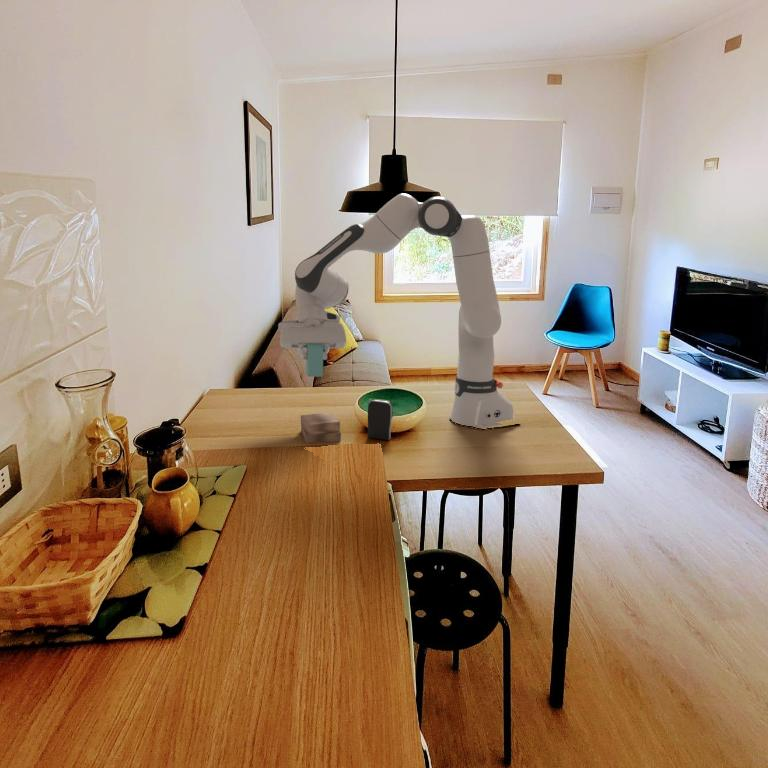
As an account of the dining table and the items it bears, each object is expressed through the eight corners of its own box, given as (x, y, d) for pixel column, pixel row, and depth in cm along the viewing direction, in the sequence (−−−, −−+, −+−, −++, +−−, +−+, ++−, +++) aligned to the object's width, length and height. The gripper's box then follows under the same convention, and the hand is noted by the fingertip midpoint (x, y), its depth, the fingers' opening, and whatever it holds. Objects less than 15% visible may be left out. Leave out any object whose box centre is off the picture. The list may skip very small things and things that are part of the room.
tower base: (334, 431, 182) (334, 421, 182) (340, 442, 173) (340, 432, 172) (301, 433, 180) (301, 423, 179) (305, 444, 170) (305, 434, 170)
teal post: (320, 372, 187) (321, 344, 185) (322, 376, 183) (323, 347, 181) (305, 372, 186) (306, 344, 184) (307, 376, 182) (308, 347, 180)
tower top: (330, 422, 181) (330, 412, 180) (339, 431, 173) (339, 421, 172) (300, 425, 178) (300, 415, 177) (309, 434, 170) (309, 424, 169)
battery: (393, 437, 177) (394, 399, 174) (389, 441, 174) (390, 403, 171) (370, 433, 179) (371, 396, 176) (366, 438, 176) (367, 400, 173)
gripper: (278, 314, 184) (280, 352, 177) (344, 315, 189) (349, 352, 182) (277, 326, 189) (279, 364, 183) (341, 327, 194) (346, 363, 188)
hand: (314, 358), depth 183 cm, fingers closed on teal post, 4 cm apart
